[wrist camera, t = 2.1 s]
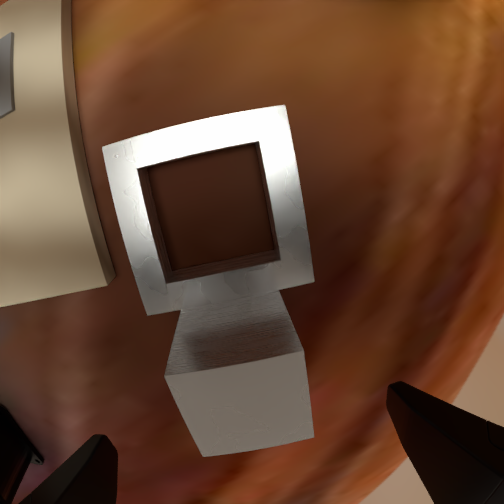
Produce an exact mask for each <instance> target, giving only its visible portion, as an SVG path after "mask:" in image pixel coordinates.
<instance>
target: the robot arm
mask: <svg viewBox="0 0 504 504" xmlns="http://www.w3.org/2000/svg"><path fill="white" fill-rule="evenodd" d="M386 406H387V410H388V412H389V414H390V417H391V419H392V422H393V424H394V426H395V429H396V431H397V434H398V436H399V439H400V441H401V444H402V446H403V448H404V450H405V452H406V453H407V455H408V457H409V459H410V460H411V462H412V464H413V466H414V468H415V469H416V471H417V473H418V475H419V476H420V478H421V480H422V482H423V484H424V486H425V487H426V489H427V491H428V493H429V495H430V496H431V499H432V500H433V502H434V504H504V427H502V426H500V425H497V424H495V423H492V422H490V421H487V422H486V420H485V419H483V418H480V417H478V416H476V415H474V414H471V413H469V412H467V411H464V410H462V409H460V408H458V407H455V406H454V405H451V404H449V403H447V402H445V401H443V400H440V399H438V398H436V397H434V396H432V395H430V394H428V393H425V392H423V391H421V390H419V389H417V388H415V387H413V386H411V385H409V384H407V383H405V382H402V381H397V382H395V383H392V384H390V385H389V386H388V389H387V399H386ZM30 463H34V464H39V465H43V463H44V459H43V458H42V457H41V456H40V454H39V453H38V452H37V451H36V450H35V448H34V447H33V446H32V445H31V443H30V442H29V441H28V440H27V438H26V437H25V436H24V434H23V433H22V432H21V430H20V429H19V428H18V426H17V425H16V424H15V422H14V421H13V419H12V418H11V417H10V415H9V414H8V412H7V411H6V410H5V409H4V408H3V407H2V406H0V504H12V501H13V499H14V497H15V494H16V492H17V490H18V488H19V485H20V483H21V481H22V479H23V477H24V475H25V472H26V470H27V468H28V466H29V464H30ZM117 471H118V453H117V450H116V448H115V447H114V446H113V444H112V443H111V441H110V440H109V439H108V437H107V436H106V435H102V434H95V435H93V436H92V437H91V438H90V439H89V440H88V441H86V442H85V443H84V444H83V445H82V446H81V447H80V448H79V449H78V450H77V451H76V452H75V453H74V454H73V455H72V456H70V457H69V458H68V459H67V460H66V461H65V462H64V463H63V464H62V465H61V466H60V467H59V468H57V469H56V470H55V471H54V472H53V473H52V474H51V475H50V476H49V477H48V478H47V479H45V480H44V481H43V482H42V483H41V484H40V485H39V486H38V487H37V488H36V489H34V490H33V491H32V492H31V494H29V495H28V496H27V497H26V498H24V499H23V500H22V501H21V502H20V503H19V504H116V497H117Z"/></svg>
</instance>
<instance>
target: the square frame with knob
mask: <svg viewBox="0 0 504 504" xmlns="http://www.w3.org/2000/svg"><path fill="white" fill-rule="evenodd" d="M251 144H255V146H256V151H257V156H258V161H259V166H260V172H261V177H262V182H263V187H264V193H265V198H266V203H267V209H268V214H269V220H270V225H271V231H272V236H273V242H274V247H275V250H270V251H265V252H260V253H255V254H251V255H246V256H241V257H236V258H231V259H227V260H222V261H217V262H212V263H207V264H203V265H198V266H193V267H188V268H183V269H178V270H174V271H172V268H171V265H170V261H169V257H168V254H167V250H166V246H165V242H164V239H163V235H162V231H161V227H160V223H159V219H158V215H157V210H156V206H155V202H154V198H153V193H152V189H151V184H150V180H149V175H148V171H147V168H149V167H152V166H156V165H160V164H164V163H168V162H172V161H176V160H180V159H184V158H188V157H193V156H197V155H201V154H206V153H211V152H215V151H220V150H225V149H230V148H235V147H240V146H245V145H251ZM102 149H103V154H104V159H105V164H106V169H107V174H108V179H109V183H110V188H111V192H112V197H113V201H114V205H115V209H116V213H117V217H118V221H119V225H120V229H121V232H122V236H123V240H124V243H125V247H126V250H127V254H128V257H129V261H130V264H131V267H132V271H133V274H134V277H135V280H136V283H137V286H138V289H139V293H140V296H141V299H142V302H143V304H144V307H145V310H146V313H147V316H148V315H154V314H160V313H165V312H171V311H176V310H181V312H180V316H179V320H178V324H177V327H176V331H175V335H174V339H173V343H172V346H171V350H170V354H169V358H168V362H167V366H166V370H165V375H164V377H165V379H166V382H167V384H168V386H169V388H170V391H171V393H172V395H173V397H174V399H175V402H176V404H177V406H178V408H179V410H180V412H181V414H182V417H183V419H184V421H185V423H186V425H187V427H188V429H189V431H190V433H191V435H192V437H193V439H194V441H195V443H196V444H197V446H198V448H199V450H200V452H201V454H202V456H203V457H206V456H215V455H224V454H231V453H238V452H245V451H251V450H257V449H263V448H268V447H273V446H278V445H283V444H288V443H292V442H297V441H301V440H305V439H309V438H313V437H314V430H313V421H312V412H311V404H310V396H309V387H308V379H307V372H306V364H305V356H304V350H303V347H302V345H301V343H300V340H299V338H298V335H297V333H296V331H295V328H294V326H293V323H292V321H291V319H290V316H289V314H288V311H287V309H286V307H285V304H284V302H283V299H282V297H281V295H280V292H279V290H281V289H285V288H290V287H294V286H299V285H303V284H308V283H312V282H315V281H314V274H313V266H312V259H311V251H310V244H309V238H308V231H307V224H306V218H305V211H304V205H303V199H302V193H301V187H300V181H299V175H298V170H297V164H296V158H295V153H294V148H293V142H292V137H291V132H290V127H289V122H288V117H287V112H286V107H285V105H280V106H273V107H267V108H260V109H254V110H248V111H242V112H237V113H231V114H226V115H221V116H216V117H211V118H206V119H202V120H197V121H193V122H189V123H184V124H180V125H176V126H172V127H168V128H164V129H161V130H157V131H153V132H150V133H146V134H142V135H139V136H136V137H132V138H129V139H126V140H122V141H119V142H116V143H113V144H110V145H107V146H104V147H102Z"/></svg>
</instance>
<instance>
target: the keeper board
mask: <svg viewBox="0 0 504 504" xmlns="http://www.w3.org/2000/svg"><path fill="white" fill-rule="evenodd" d="M115 277H116V274H115V271H114V268H113V265H112V262H111V258H110V255H109V252H108V248H107V245H106V241H105V238H104V234H103V230H102V227H101V223H100V219H99V215H98V211H97V207H96V203H95V199H94V195H93V190H92V186H91V181H90V176H89V172H88V167H87V162H86V156H85V151H84V145H83V140H82V134H81V127H80V121H79V113H78V106H77V98H76V89H75V79H74V68H73V53H72V32H71V0H9V1H7V2H6V3H4V4H3V5H1V6H0V307H4V306H9V305H14V304H19V303H24V302H29V301H34V300H39V299H44V298H49V297H54V296H59V295H64V294H69V293H74V292H79V291H83V290H88V289H93V288H98V287H103V286H108V284H109V283H110V282H111V281H112V280H113V279H114V278H115Z"/></svg>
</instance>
